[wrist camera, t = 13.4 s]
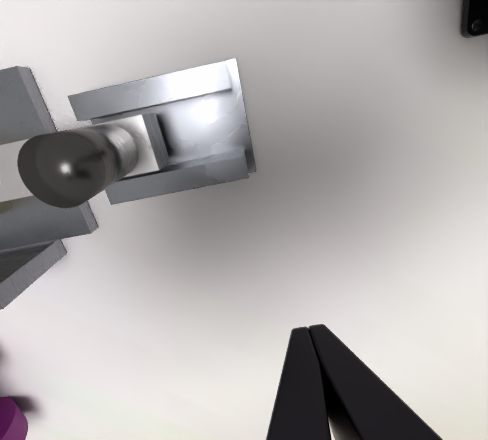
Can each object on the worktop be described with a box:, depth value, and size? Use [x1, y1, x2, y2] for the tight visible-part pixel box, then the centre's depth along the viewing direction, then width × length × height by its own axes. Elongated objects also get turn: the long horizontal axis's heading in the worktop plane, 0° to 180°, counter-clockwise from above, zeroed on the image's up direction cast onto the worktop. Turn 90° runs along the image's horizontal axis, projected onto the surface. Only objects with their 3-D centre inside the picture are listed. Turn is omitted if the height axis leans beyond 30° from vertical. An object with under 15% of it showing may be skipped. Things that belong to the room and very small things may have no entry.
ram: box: [0, 113, 170, 208], centre depth 13 cm, size 12×3×7 cm, turn 101°
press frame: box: [0, 58, 256, 309], centre depth 16 cm, size 24×12×6 cm, turn 101°
